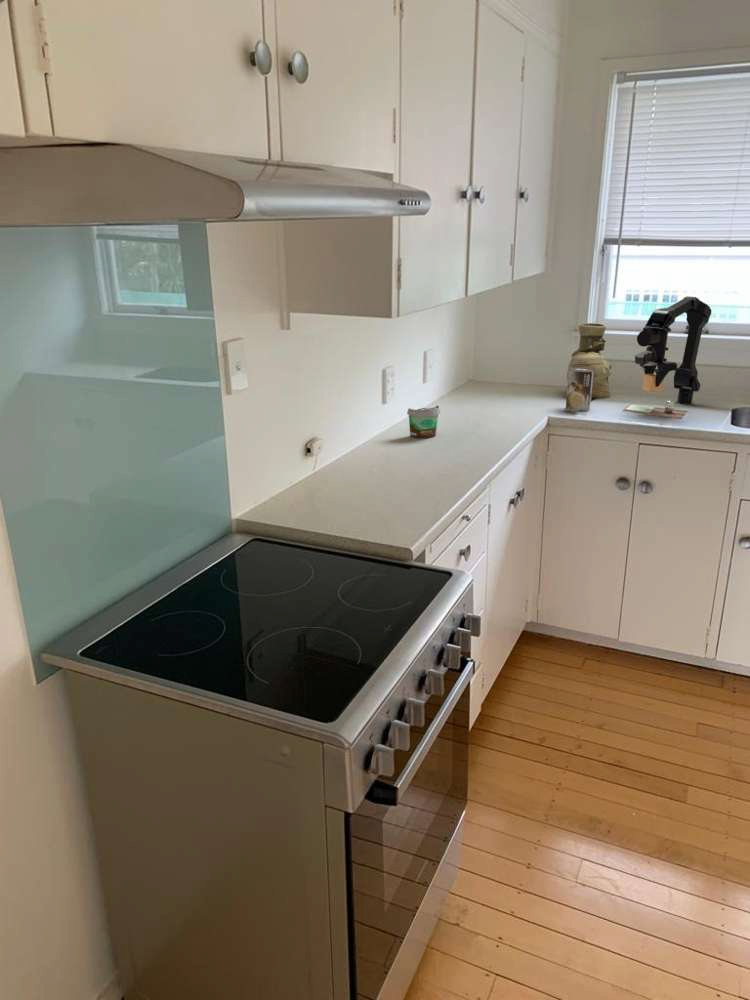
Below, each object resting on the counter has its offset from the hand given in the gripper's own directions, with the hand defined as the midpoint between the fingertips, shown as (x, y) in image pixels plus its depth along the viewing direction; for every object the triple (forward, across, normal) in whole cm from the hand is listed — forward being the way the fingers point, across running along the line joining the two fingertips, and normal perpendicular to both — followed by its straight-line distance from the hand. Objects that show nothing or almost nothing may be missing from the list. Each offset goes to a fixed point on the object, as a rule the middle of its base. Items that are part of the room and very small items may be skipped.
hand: (652, 385), depth 287 cm
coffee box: (+11, -11, -25) cm, 29 cm away
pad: (+10, -3, -2) cm, 10 cm away
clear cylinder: (+10, +5, +5) cm, 12 cm away
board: (+11, +1, +2) cm, 11 cm away
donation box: (+2, 0, 0) cm, 2 cm away
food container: (+12, +11, -96) cm, 97 cm away
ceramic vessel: (+11, -33, -7) cm, 35 cm away
